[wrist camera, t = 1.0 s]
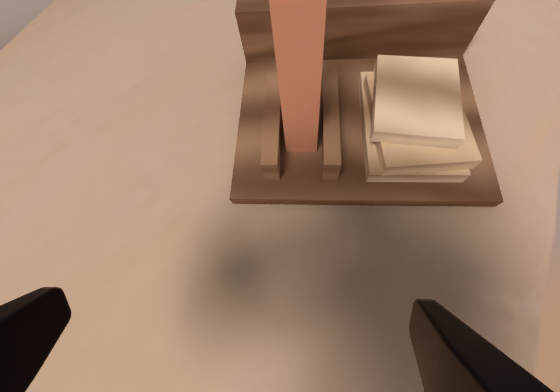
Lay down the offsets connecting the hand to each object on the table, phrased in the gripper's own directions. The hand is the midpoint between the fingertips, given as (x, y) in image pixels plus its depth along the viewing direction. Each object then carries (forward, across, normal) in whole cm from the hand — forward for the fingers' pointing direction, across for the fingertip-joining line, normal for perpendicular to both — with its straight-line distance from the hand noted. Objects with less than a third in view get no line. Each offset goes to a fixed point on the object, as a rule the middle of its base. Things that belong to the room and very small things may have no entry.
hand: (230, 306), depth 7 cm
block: (+19, -2, -1) cm, 19 cm away
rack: (+21, -6, -1) cm, 22 cm away
